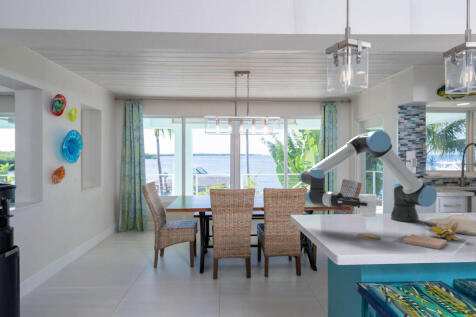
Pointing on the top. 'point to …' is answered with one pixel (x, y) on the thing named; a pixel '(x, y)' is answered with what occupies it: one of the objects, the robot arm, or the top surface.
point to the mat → (400, 240)
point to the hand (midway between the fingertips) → (378, 204)
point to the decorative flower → (446, 230)
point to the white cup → (366, 210)
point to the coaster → (368, 237)
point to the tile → (425, 241)
